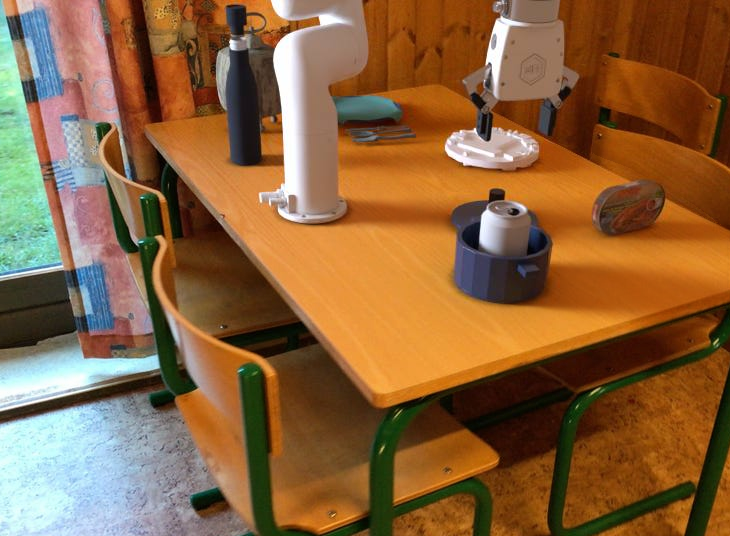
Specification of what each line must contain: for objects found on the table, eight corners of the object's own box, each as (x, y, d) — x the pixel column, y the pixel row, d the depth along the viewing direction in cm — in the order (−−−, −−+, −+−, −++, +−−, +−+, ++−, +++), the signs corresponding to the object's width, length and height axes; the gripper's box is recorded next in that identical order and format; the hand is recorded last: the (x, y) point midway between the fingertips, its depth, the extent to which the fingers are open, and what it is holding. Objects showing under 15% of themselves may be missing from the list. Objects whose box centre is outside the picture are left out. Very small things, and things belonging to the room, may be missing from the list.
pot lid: (471, 247, 144) (474, 213, 140) (438, 211, 156) (440, 179, 152) (553, 236, 148) (558, 203, 144) (514, 202, 160) (518, 171, 157)
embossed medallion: (427, 147, 184) (428, 134, 182) (501, 134, 192) (502, 121, 190) (480, 178, 170) (481, 164, 168) (557, 163, 178) (559, 149, 176)
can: (521, 291, 130) (531, 219, 123) (473, 285, 131) (480, 214, 125) (524, 269, 136) (533, 200, 130) (478, 264, 137) (485, 195, 131)
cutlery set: (389, 101, 211) (389, 91, 209) (425, 141, 187) (425, 131, 186) (311, 105, 206) (310, 96, 205) (337, 147, 182) (337, 137, 181)
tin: (596, 239, 147) (604, 193, 143) (584, 232, 150) (592, 187, 145) (661, 224, 153) (671, 180, 149) (649, 217, 156) (659, 174, 151)
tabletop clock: (278, 119, 197) (273, 5, 183) (296, 130, 191) (292, 13, 177) (220, 128, 190) (210, 11, 176) (236, 141, 184) (227, 20, 170)
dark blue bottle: (225, 162, 173) (211, 7, 157) (240, 152, 178) (229, 1, 161) (252, 167, 171) (242, 11, 155) (267, 157, 176) (259, 4, 160)
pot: (482, 318, 124) (487, 273, 120) (434, 258, 140) (436, 216, 136) (570, 304, 128) (578, 260, 124) (514, 247, 144) (518, 207, 140)
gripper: (481, 18, 106) (469, 149, 116) (602, 13, 111) (580, 140, 121) (458, 5, 112) (449, 131, 122) (574, 1, 117) (556, 123, 126)
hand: (514, 135), depth 121 cm, fingers open, 9 cm apart
